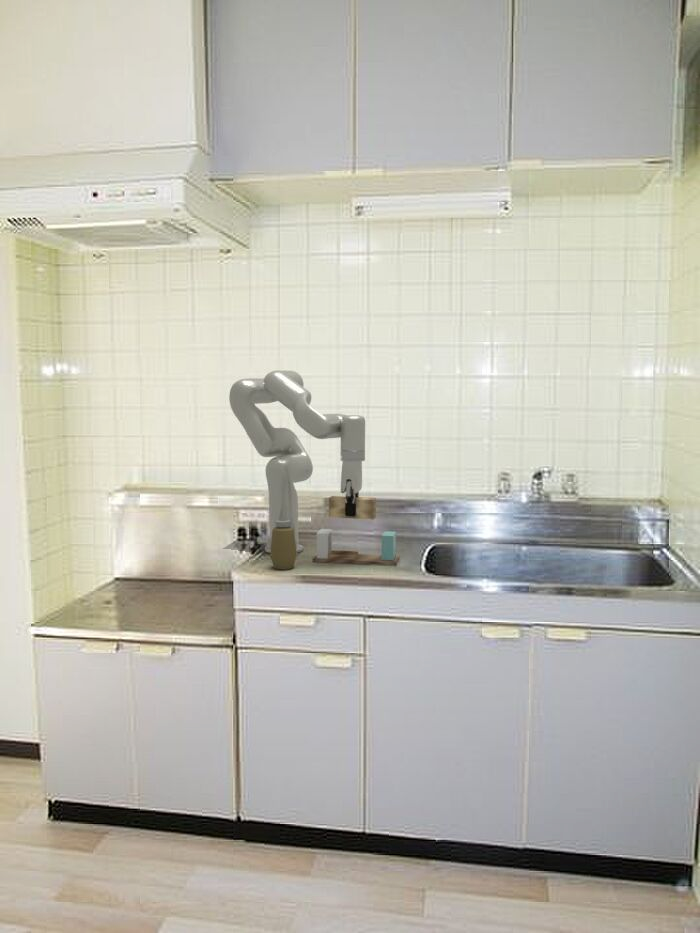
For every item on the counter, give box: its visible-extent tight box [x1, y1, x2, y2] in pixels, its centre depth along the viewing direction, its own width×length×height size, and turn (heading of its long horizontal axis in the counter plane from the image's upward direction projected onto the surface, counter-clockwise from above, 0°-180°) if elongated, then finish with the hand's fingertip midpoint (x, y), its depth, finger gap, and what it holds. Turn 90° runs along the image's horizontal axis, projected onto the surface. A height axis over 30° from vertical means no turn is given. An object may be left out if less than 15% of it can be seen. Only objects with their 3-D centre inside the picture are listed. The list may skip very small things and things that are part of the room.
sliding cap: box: [381, 530, 397, 561], centre depth 230 cm, size 4×7×8 cm, turn 170°
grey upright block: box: [315, 528, 333, 559], centre depth 234 cm, size 4×7×8 cm, turn 170°
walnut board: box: [312, 549, 400, 566], centre depth 232 cm, size 26×9×2 cm, turn 80°
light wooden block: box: [328, 495, 377, 520], centre depth 229 cm, size 14×4×6 cm, turn 77°
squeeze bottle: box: [269, 508, 298, 570], centre depth 222 cm, size 8×8×18 cm
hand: (352, 514), depth 229 cm, fingers closed on light wooden block, 4 cm apart
